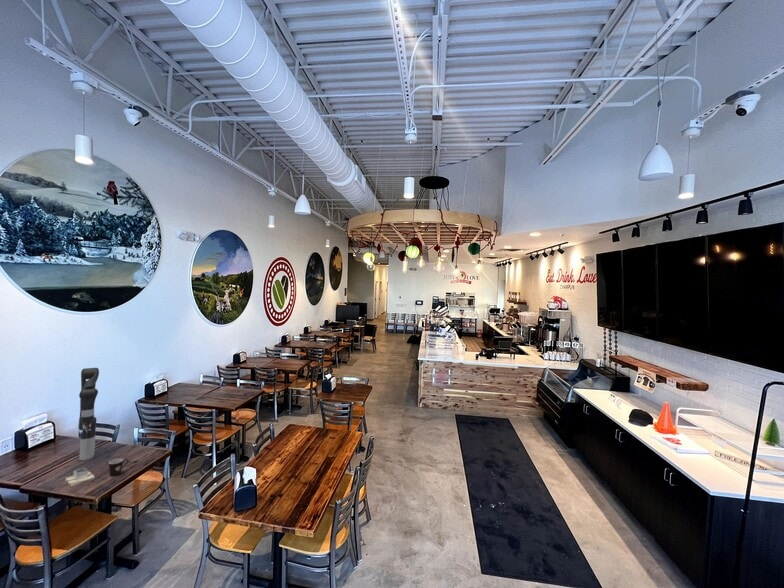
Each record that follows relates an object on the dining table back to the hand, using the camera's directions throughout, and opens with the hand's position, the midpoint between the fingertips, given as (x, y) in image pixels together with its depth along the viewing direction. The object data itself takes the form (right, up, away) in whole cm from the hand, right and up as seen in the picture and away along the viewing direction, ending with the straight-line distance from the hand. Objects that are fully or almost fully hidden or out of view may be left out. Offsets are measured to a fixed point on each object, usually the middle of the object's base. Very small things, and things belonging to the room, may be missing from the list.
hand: (86, 435), depth 253 cm
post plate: (+5, -28, -10) cm, 30 cm away
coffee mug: (+25, -29, -1) cm, 38 cm away
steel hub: (+5, -27, -10) cm, 29 cm away
